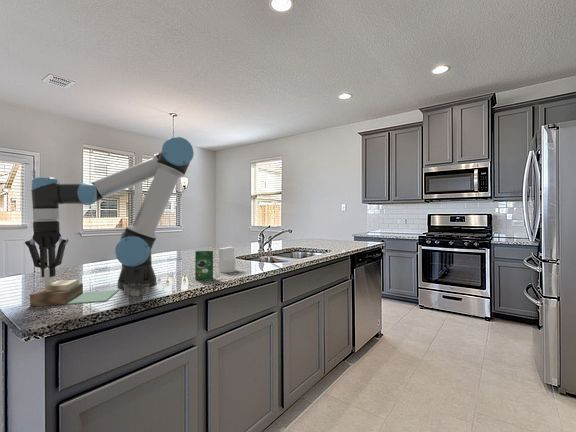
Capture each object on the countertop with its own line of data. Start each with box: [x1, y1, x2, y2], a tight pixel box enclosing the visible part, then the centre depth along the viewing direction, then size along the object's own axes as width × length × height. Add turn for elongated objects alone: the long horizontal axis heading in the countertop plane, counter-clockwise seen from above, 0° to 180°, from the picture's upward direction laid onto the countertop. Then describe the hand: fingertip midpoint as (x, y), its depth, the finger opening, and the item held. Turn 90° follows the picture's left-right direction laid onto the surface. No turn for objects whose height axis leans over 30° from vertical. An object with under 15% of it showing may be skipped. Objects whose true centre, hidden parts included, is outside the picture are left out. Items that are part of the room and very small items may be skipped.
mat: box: [66, 289, 120, 305], centre depth 118 cm, size 12×16×1 cm
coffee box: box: [194, 250, 214, 281], centre depth 147 cm, size 8×3×13 cm, turn 108°
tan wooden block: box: [29, 283, 84, 307], centre depth 115 cm, size 11×14×4 cm
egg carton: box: [123, 283, 150, 297], centre depth 123 cm, size 11×8×4 cm
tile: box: [44, 279, 80, 292], centre depth 116 cm, size 7×9×2 cm
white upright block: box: [217, 246, 237, 274], centre depth 166 cm, size 9×9×12 cm
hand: (49, 285), depth 115 cm, fingers closed
